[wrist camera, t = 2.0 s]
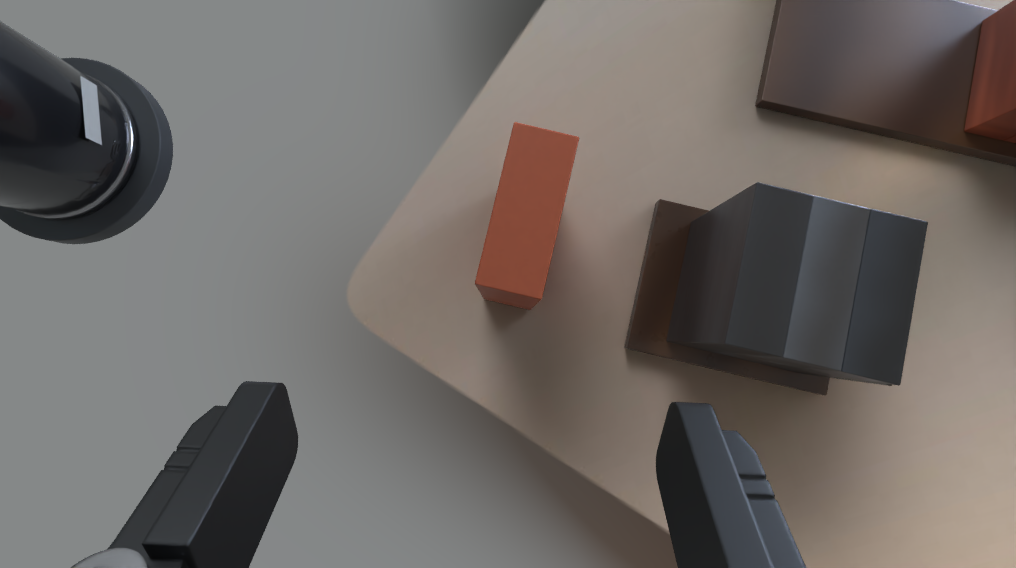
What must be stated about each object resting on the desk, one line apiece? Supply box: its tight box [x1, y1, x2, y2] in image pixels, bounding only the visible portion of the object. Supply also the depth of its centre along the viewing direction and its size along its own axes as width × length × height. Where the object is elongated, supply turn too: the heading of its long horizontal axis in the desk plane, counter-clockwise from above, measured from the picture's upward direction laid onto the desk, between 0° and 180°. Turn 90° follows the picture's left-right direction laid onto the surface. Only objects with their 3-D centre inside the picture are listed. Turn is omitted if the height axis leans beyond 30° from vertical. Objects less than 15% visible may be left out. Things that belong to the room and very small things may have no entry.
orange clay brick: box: [475, 122, 579, 310], centre depth 31 cm, size 3×8×11 cm, turn 167°
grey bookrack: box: [625, 182, 928, 395], centre depth 31 cm, size 13×10×10 cm
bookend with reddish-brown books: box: [755, 0, 1016, 166], centre depth 32 cm, size 22×10×12 cm, turn 77°
